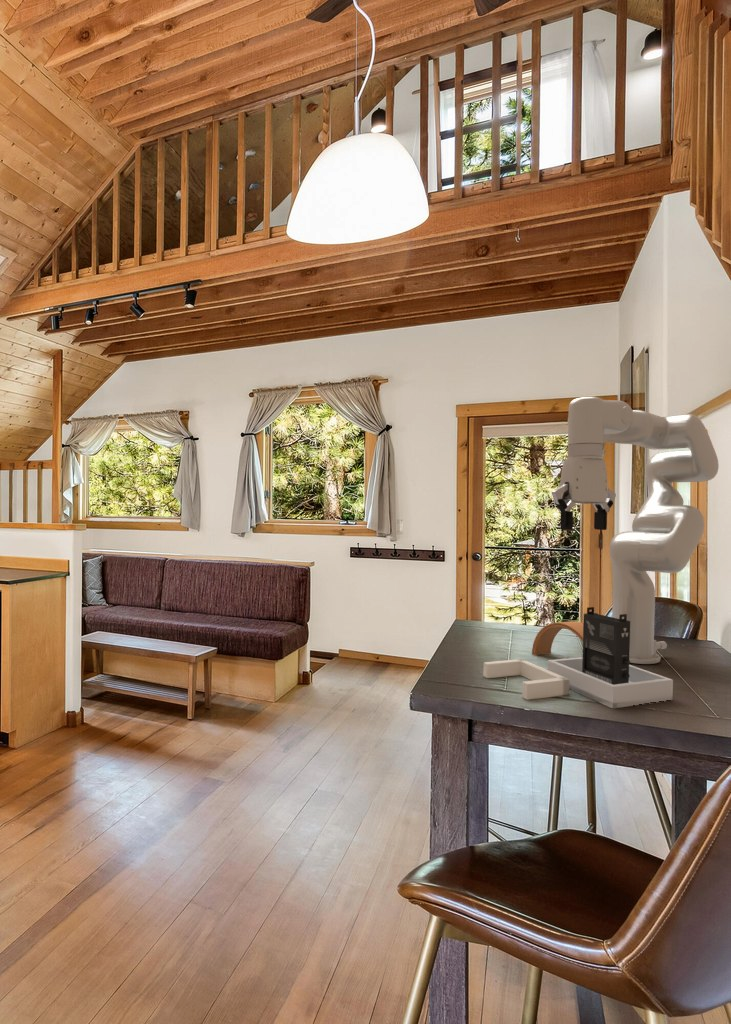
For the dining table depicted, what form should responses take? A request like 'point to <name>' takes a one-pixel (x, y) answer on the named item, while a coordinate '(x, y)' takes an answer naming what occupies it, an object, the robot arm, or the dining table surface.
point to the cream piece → (541, 678)
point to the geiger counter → (606, 647)
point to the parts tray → (614, 696)
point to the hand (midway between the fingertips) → (583, 529)
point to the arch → (550, 631)
